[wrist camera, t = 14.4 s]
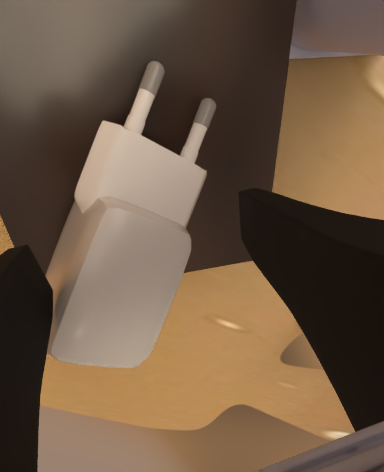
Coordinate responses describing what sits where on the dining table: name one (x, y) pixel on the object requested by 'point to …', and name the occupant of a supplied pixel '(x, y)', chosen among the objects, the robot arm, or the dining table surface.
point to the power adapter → (125, 239)
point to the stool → (122, 99)
